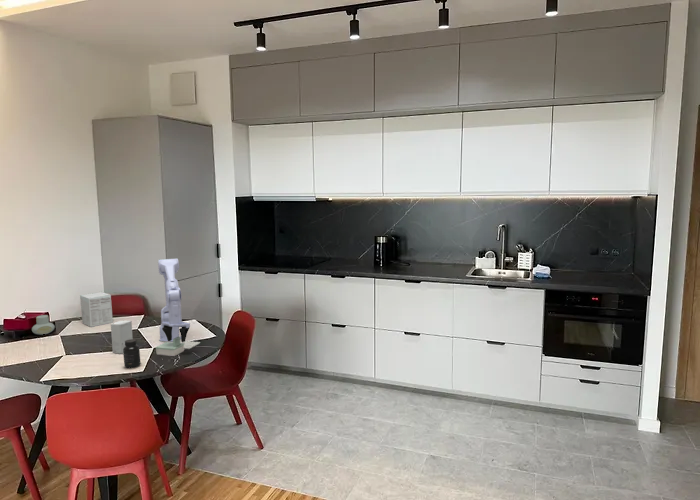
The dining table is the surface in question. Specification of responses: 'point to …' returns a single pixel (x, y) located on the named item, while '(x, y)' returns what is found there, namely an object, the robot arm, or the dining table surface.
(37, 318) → the air freshener
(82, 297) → the supplement box
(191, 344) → the mat
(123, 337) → the skincare box
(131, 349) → the supplement bottle
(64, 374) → the dining table surface
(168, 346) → the lid
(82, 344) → the dining table surface
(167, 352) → the tub
